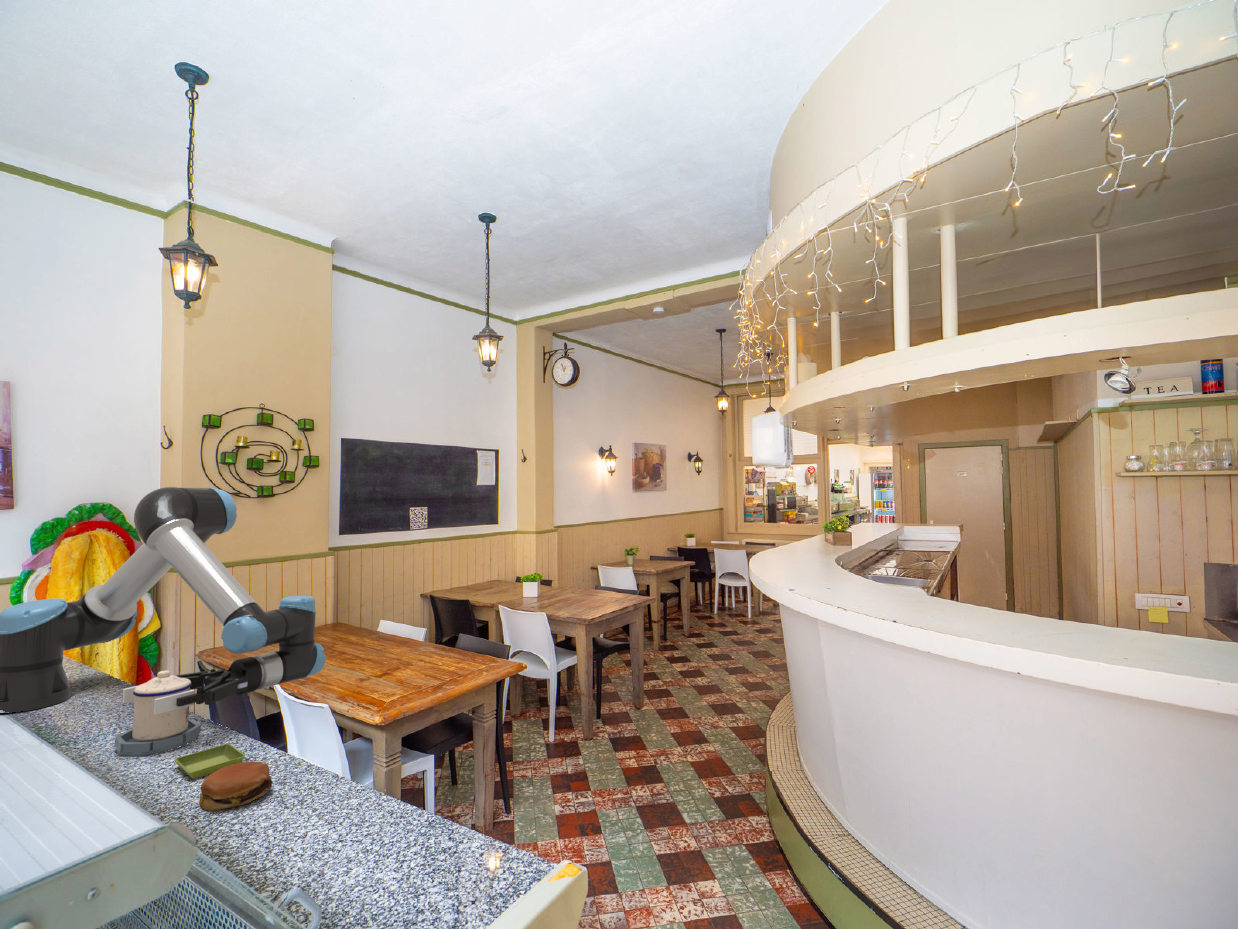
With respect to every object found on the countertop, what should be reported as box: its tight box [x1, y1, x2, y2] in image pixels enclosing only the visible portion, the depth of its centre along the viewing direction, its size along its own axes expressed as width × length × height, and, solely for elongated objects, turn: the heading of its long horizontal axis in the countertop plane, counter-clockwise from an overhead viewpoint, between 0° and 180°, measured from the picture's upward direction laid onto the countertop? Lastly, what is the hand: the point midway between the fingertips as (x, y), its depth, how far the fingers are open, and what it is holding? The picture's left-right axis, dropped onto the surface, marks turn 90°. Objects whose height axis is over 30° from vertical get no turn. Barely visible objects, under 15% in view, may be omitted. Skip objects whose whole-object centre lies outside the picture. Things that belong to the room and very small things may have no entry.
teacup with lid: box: [132, 669, 192, 740], centre depth 116 cm, size 12×9×12 cm
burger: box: [198, 761, 274, 812], centre depth 94 cm, size 10×9×5 cm
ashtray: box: [114, 718, 202, 757], centre depth 116 cm, size 13×13×2 cm
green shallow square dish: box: [173, 743, 246, 780], centre depth 105 cm, size 9×9×2 cm
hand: (138, 701), depth 113 cm, fingers closed on teacup with lid, 12 cm apart
